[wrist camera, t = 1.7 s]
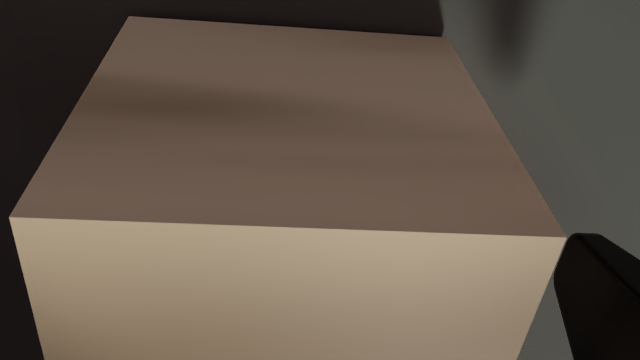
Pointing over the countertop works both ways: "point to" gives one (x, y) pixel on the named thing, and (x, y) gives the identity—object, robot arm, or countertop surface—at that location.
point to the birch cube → (282, 204)
